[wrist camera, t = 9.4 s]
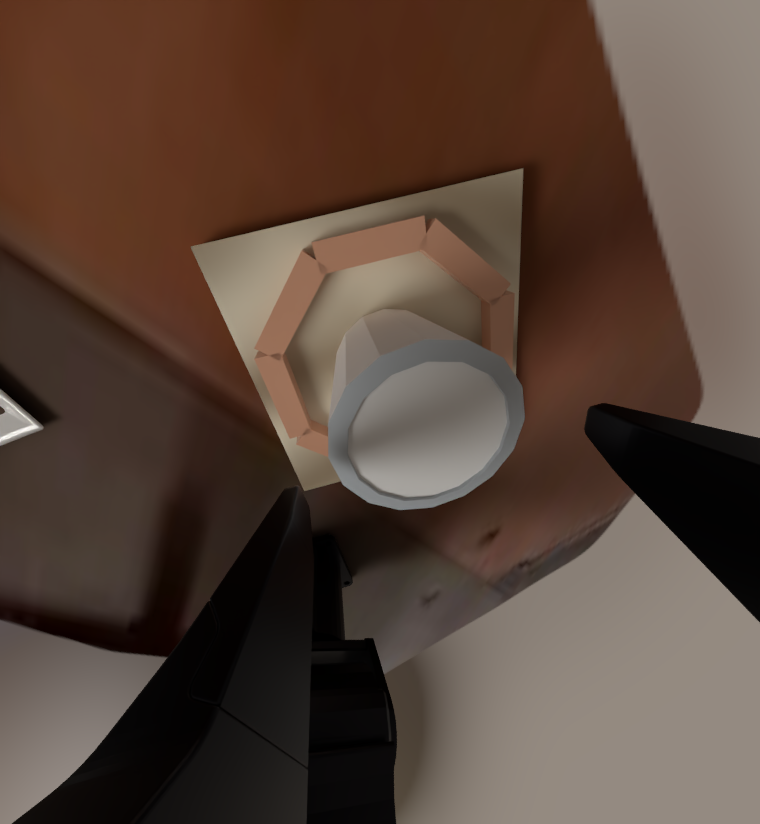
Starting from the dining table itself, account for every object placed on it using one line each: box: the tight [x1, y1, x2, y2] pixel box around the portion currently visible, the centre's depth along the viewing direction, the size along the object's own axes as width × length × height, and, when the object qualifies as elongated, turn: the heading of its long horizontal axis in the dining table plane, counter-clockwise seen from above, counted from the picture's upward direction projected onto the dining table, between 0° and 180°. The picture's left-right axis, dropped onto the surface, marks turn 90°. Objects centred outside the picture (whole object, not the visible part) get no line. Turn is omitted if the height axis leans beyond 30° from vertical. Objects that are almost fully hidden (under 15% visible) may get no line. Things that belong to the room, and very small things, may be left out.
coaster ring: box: [254, 216, 515, 457], centre depth 16 cm, size 12×12×1 cm
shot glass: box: [328, 309, 525, 510], centre depth 13 cm, size 7×7×7 cm
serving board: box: [191, 168, 523, 491], centre depth 17 cm, size 14×14×1 cm
